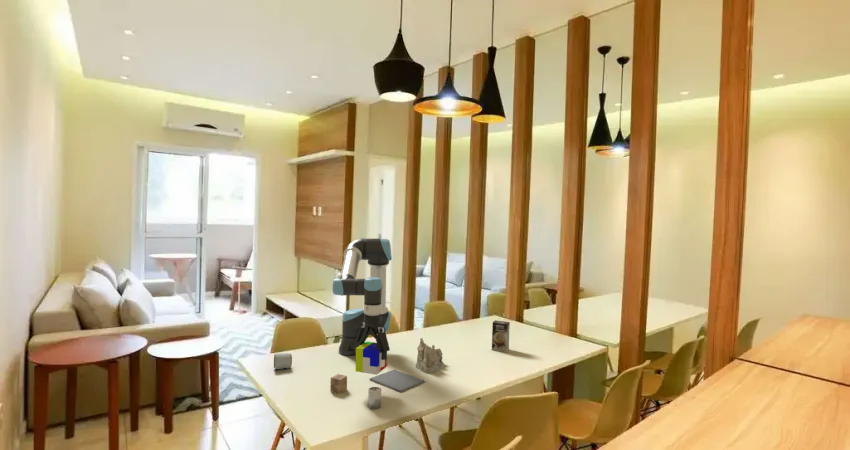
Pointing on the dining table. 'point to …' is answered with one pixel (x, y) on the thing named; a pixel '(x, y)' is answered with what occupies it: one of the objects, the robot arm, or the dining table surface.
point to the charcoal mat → (397, 380)
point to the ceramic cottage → (429, 358)
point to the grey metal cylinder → (374, 398)
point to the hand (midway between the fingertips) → (371, 363)
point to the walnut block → (338, 383)
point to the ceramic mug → (282, 360)
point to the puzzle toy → (368, 358)
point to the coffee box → (500, 336)
